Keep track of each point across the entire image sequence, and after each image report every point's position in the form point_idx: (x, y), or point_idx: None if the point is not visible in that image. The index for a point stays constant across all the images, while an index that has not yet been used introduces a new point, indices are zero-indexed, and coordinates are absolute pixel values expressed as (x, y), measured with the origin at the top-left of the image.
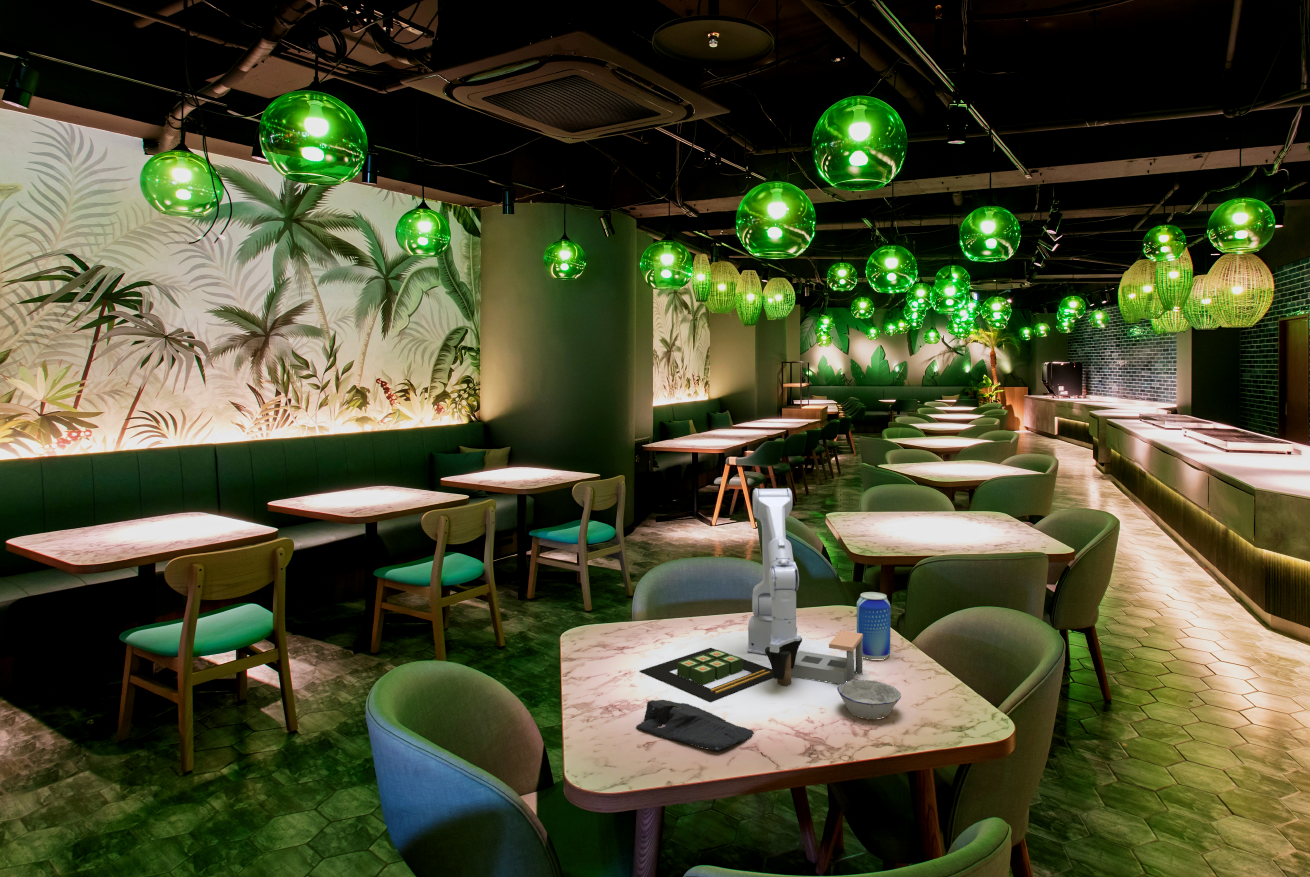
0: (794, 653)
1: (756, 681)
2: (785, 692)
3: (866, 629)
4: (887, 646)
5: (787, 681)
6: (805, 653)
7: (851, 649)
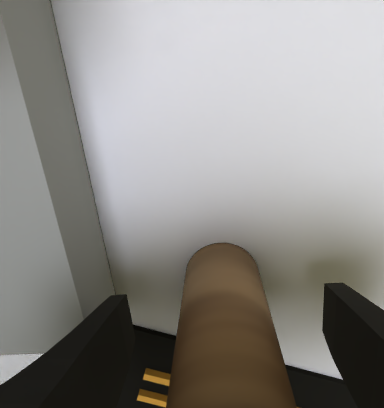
0: (73, 375)
1: None
2: (344, 225)
3: None
4: None
5: (249, 261)
6: None
7: None
